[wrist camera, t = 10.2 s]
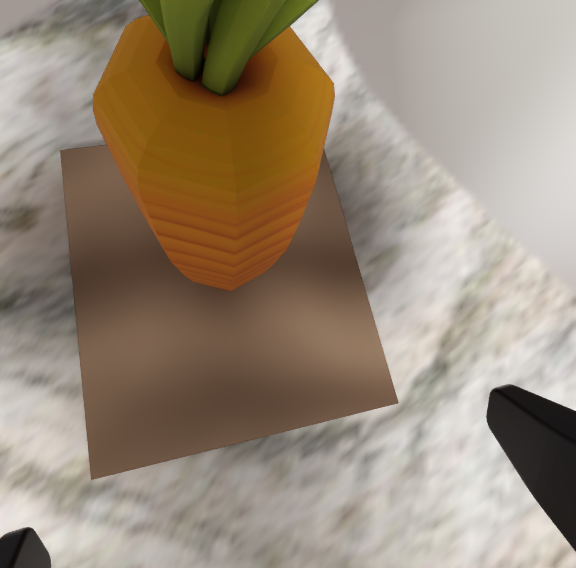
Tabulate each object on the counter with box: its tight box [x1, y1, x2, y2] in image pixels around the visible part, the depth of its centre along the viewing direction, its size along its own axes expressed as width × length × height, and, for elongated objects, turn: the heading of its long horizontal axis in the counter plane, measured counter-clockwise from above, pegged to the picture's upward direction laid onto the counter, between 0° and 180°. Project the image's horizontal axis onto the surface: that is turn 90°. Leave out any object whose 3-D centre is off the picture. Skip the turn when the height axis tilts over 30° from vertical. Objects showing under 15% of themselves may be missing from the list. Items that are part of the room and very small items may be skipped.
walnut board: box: [60, 145, 398, 480], centre depth 19 cm, size 14×12×1 cm
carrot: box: [93, 0, 335, 291], centre depth 11 cm, size 5×5×15 cm
